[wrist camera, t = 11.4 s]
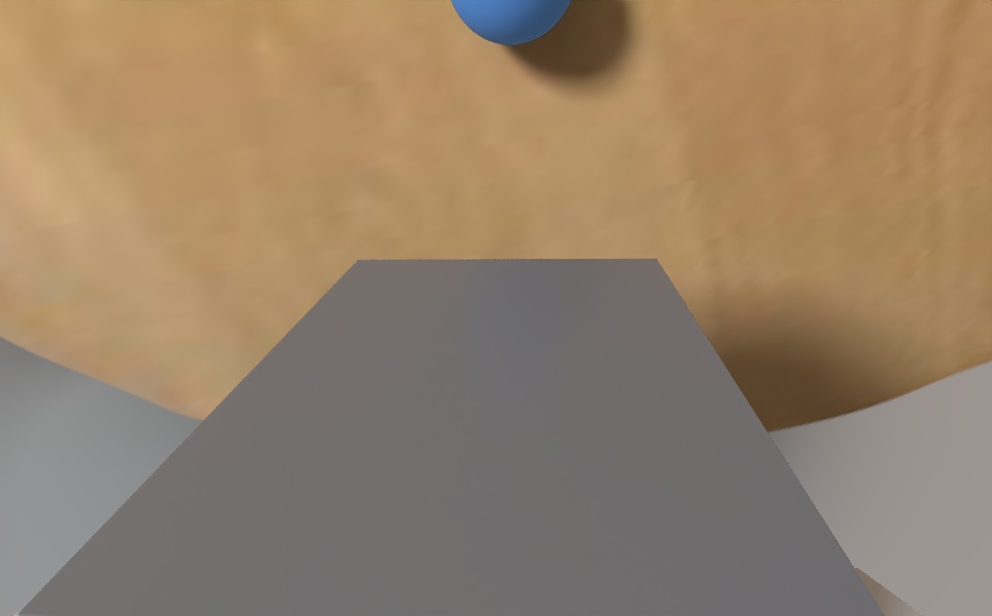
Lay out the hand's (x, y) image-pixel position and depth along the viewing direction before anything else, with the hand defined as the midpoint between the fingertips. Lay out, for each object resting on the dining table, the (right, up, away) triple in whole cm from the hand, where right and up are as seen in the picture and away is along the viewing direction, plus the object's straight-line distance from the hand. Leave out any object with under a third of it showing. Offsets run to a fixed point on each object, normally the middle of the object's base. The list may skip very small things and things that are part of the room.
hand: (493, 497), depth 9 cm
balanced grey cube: (0, +1, +4) cm, 4 cm away
